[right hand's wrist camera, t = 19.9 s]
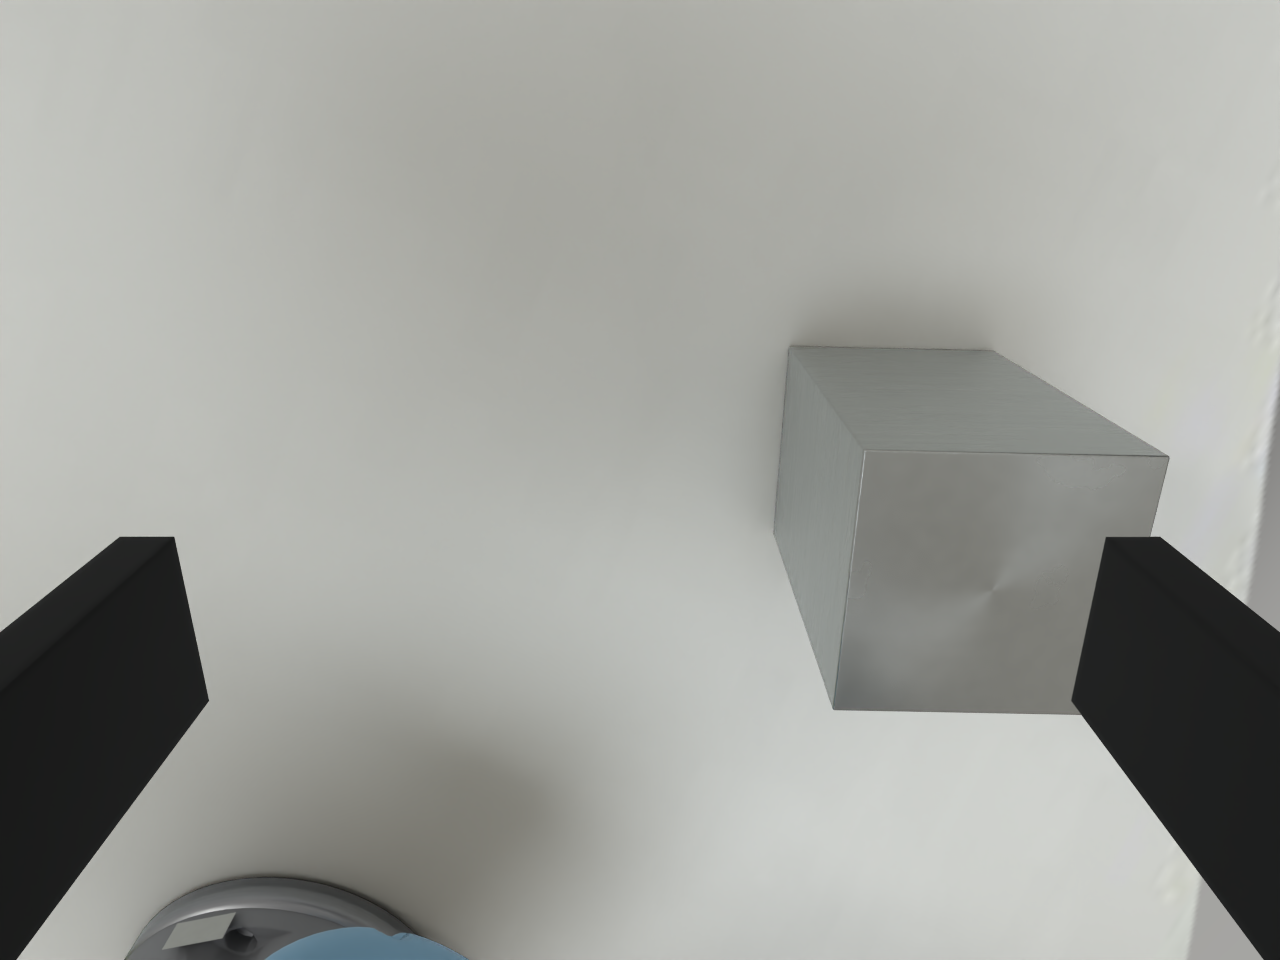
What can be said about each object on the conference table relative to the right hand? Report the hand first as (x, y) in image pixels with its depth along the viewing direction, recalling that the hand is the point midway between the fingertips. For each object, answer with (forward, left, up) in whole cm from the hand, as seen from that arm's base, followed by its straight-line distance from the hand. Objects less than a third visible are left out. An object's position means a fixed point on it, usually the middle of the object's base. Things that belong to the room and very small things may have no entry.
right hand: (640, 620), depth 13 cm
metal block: (-2, +9, -20) cm, 22 cm away
